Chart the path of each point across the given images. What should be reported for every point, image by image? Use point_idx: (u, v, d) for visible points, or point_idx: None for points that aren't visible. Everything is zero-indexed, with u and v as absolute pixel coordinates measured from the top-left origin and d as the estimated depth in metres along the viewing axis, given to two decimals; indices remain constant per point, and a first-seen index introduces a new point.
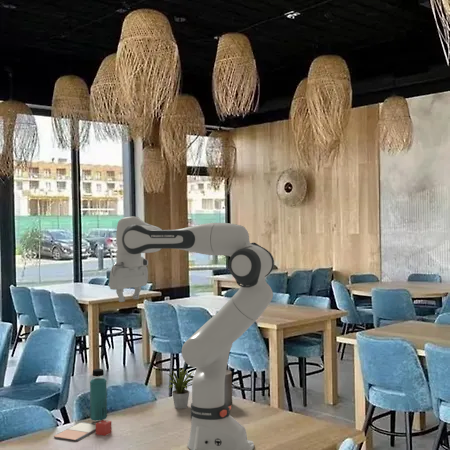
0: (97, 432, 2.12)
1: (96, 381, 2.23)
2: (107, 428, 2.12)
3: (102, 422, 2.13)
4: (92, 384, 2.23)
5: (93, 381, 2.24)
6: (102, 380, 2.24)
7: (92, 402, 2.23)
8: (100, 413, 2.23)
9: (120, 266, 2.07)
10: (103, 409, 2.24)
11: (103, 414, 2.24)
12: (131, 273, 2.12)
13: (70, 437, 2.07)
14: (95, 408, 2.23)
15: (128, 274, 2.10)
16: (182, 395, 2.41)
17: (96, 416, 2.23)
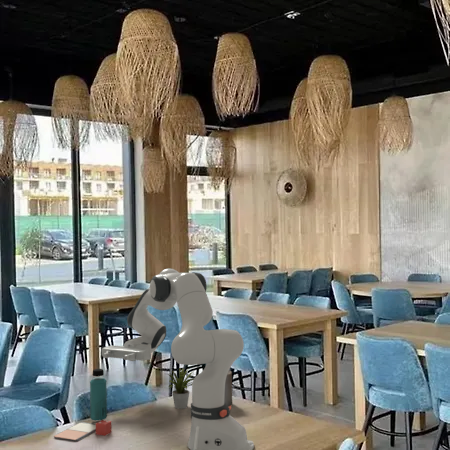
0: (97, 432, 2.12)
1: (96, 381, 2.23)
2: (107, 428, 2.12)
3: (102, 422, 2.13)
4: (92, 384, 2.23)
5: (93, 381, 2.24)
6: (102, 380, 2.24)
7: (92, 402, 2.23)
8: (100, 413, 2.23)
9: None
10: (103, 409, 2.24)
11: (103, 414, 2.24)
12: (126, 348, 2.46)
13: (70, 437, 2.07)
14: (95, 408, 2.23)
15: (122, 348, 2.47)
16: (182, 395, 2.41)
17: (96, 416, 2.23)
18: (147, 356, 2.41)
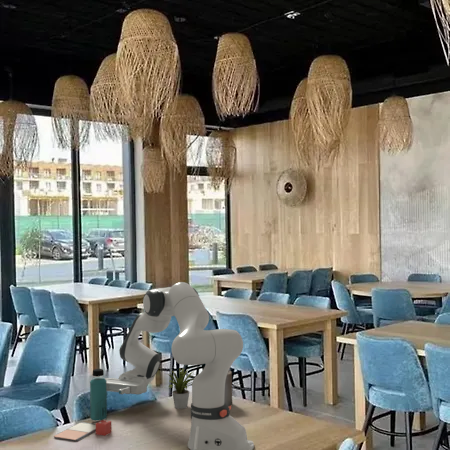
0: (97, 432, 2.12)
1: (96, 381, 2.23)
2: (107, 428, 2.12)
3: (102, 422, 2.13)
4: (92, 384, 2.23)
5: (93, 381, 2.24)
6: (102, 380, 2.24)
7: (92, 402, 2.23)
8: (100, 413, 2.23)
9: None
10: (103, 409, 2.24)
11: (103, 414, 2.24)
12: (122, 381, 2.42)
13: (70, 437, 2.07)
14: (95, 408, 2.23)
15: (117, 380, 2.43)
16: (182, 395, 2.41)
17: (96, 416, 2.23)
18: (142, 389, 2.37)
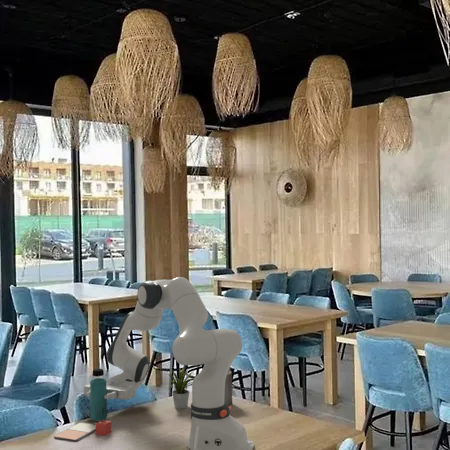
0: (97, 432, 2.12)
1: (96, 381, 2.23)
2: (107, 428, 2.12)
3: (102, 422, 2.13)
4: (92, 384, 2.23)
5: (93, 381, 2.24)
6: (102, 380, 2.24)
7: (92, 402, 2.23)
8: (100, 413, 2.23)
9: None
10: (103, 409, 2.24)
11: (103, 414, 2.24)
12: (109, 385, 2.34)
13: (70, 437, 2.07)
14: (95, 408, 2.23)
15: None
16: (182, 395, 2.41)
17: (96, 416, 2.23)
18: (131, 394, 2.29)
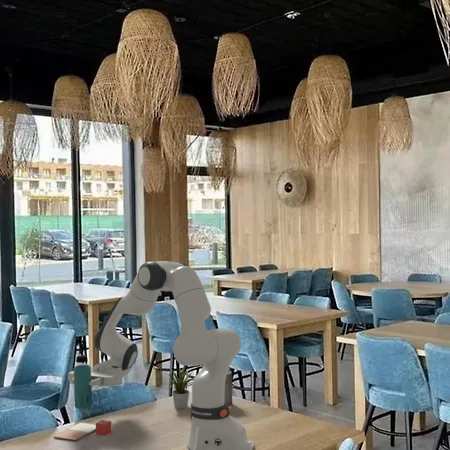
0: (97, 432, 2.12)
1: (80, 368, 2.14)
2: (107, 428, 2.12)
3: (102, 422, 2.13)
4: (76, 371, 2.14)
5: (76, 368, 2.14)
6: (86, 367, 2.15)
7: (76, 390, 2.14)
8: (85, 401, 2.14)
9: None
10: (88, 397, 2.14)
11: (88, 402, 2.14)
12: (95, 372, 2.25)
13: (70, 437, 2.07)
14: (79, 395, 2.13)
15: None
16: (182, 395, 2.41)
17: (81, 404, 2.13)
18: (117, 381, 2.20)
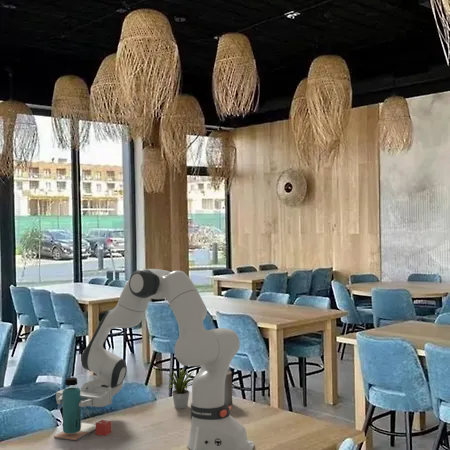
0: (97, 432, 2.12)
1: (69, 391, 2.08)
2: (107, 428, 2.12)
3: (102, 422, 2.13)
4: (65, 394, 2.08)
5: (66, 391, 2.08)
6: (75, 390, 2.09)
7: (65, 413, 2.08)
8: (73, 425, 2.07)
9: None
10: (76, 421, 2.08)
11: (76, 426, 2.08)
12: (84, 391, 2.19)
13: (70, 437, 2.07)
14: (68, 419, 2.07)
15: None
16: (182, 395, 2.41)
17: (69, 428, 2.07)
18: (106, 402, 2.13)
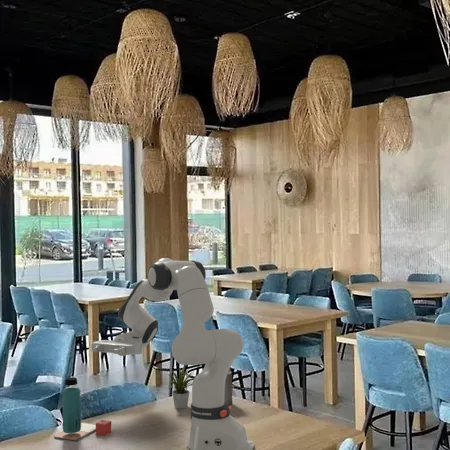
0: (97, 432, 2.12)
1: (69, 391, 2.08)
2: (107, 428, 2.12)
3: (102, 422, 2.13)
4: (65, 394, 2.08)
5: (66, 391, 2.08)
6: (75, 390, 2.09)
7: (65, 413, 2.08)
8: (73, 425, 2.07)
9: None
10: (76, 421, 2.08)
11: (76, 426, 2.08)
12: (117, 342, 2.40)
13: (70, 437, 2.07)
14: (68, 419, 2.07)
15: (112, 342, 2.40)
16: (182, 395, 2.41)
17: (69, 428, 2.07)
18: (138, 350, 2.34)
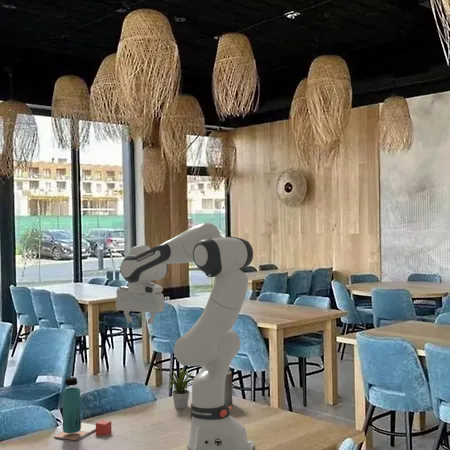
0: (97, 432, 2.12)
1: (69, 391, 2.08)
2: (107, 428, 2.12)
3: (102, 422, 2.13)
4: (65, 394, 2.08)
5: (66, 391, 2.08)
6: (75, 390, 2.09)
7: (65, 413, 2.08)
8: (73, 425, 2.07)
9: (125, 290, 2.31)
10: (76, 421, 2.08)
11: (76, 426, 2.08)
12: (136, 298, 2.28)
13: (70, 437, 2.07)
14: (68, 419, 2.07)
15: (131, 298, 2.29)
16: (182, 395, 2.41)
17: (69, 428, 2.07)
18: (163, 301, 2.26)
